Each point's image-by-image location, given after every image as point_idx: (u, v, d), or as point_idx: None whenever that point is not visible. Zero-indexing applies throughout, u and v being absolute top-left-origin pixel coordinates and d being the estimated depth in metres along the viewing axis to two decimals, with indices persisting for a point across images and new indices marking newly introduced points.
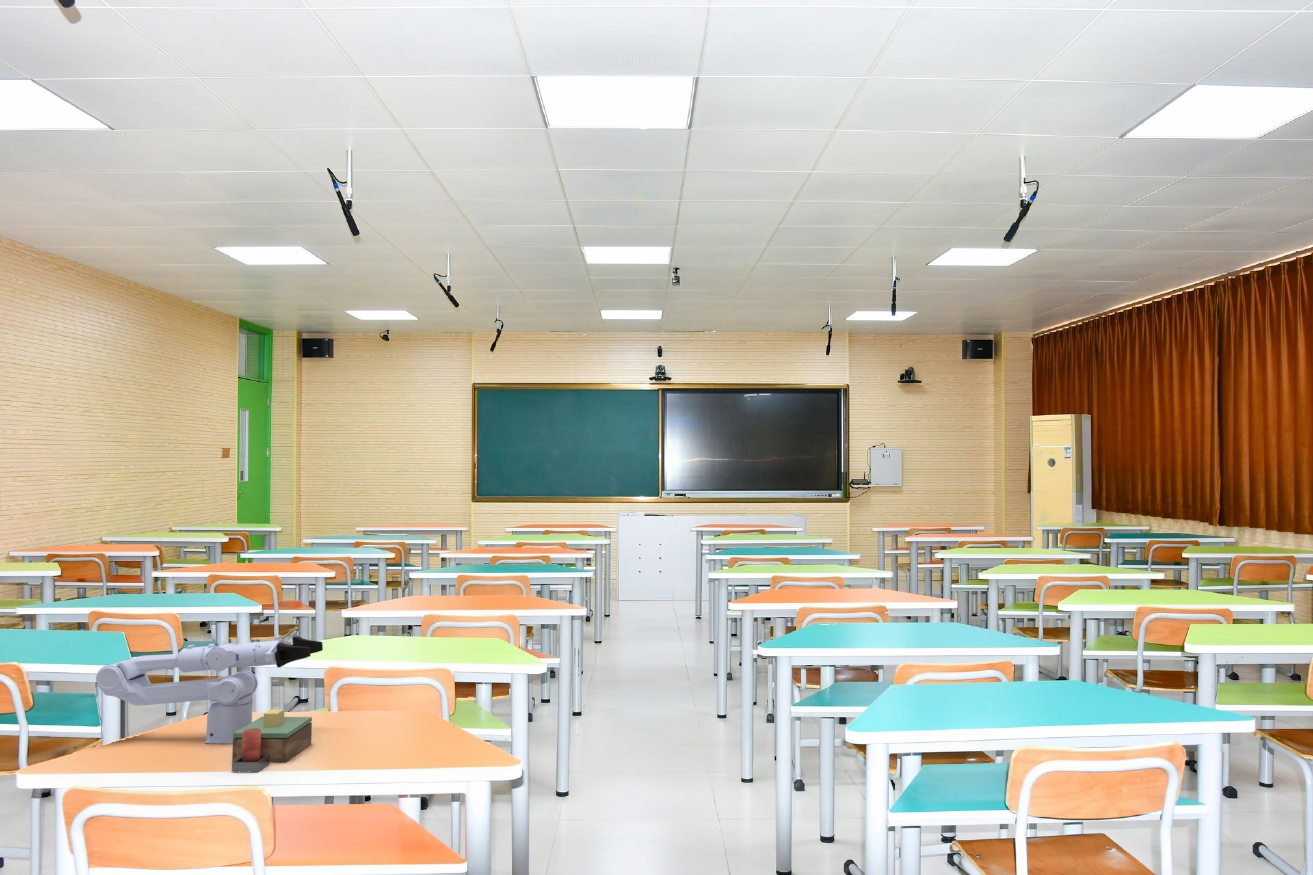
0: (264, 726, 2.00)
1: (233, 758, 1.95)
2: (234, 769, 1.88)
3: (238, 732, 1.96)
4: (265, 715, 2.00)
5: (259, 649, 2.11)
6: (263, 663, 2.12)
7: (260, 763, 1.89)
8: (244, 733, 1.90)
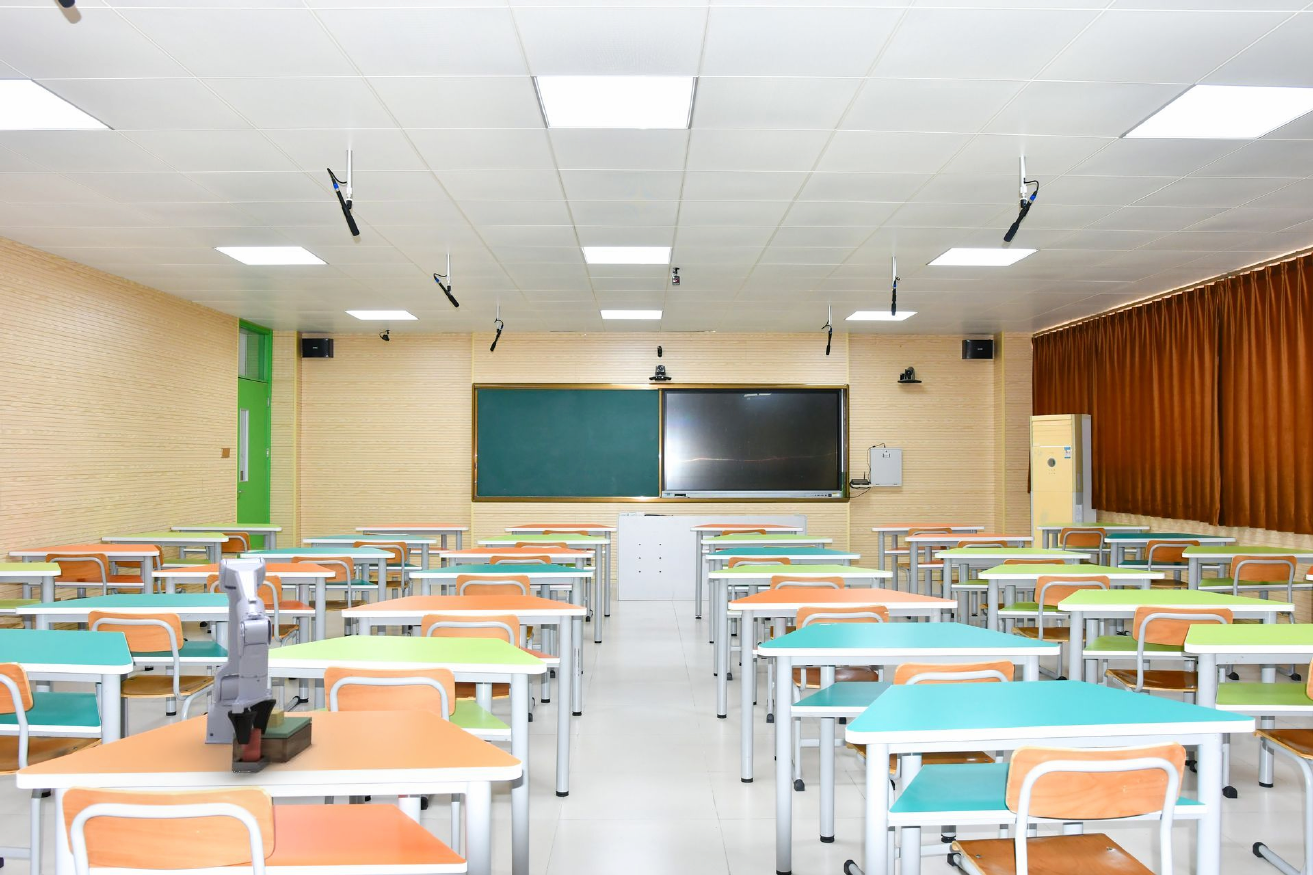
0: None
1: (233, 758, 1.95)
2: (234, 769, 1.88)
3: None
4: None
5: (254, 682, 1.89)
6: (239, 684, 1.90)
7: (260, 763, 1.89)
8: None
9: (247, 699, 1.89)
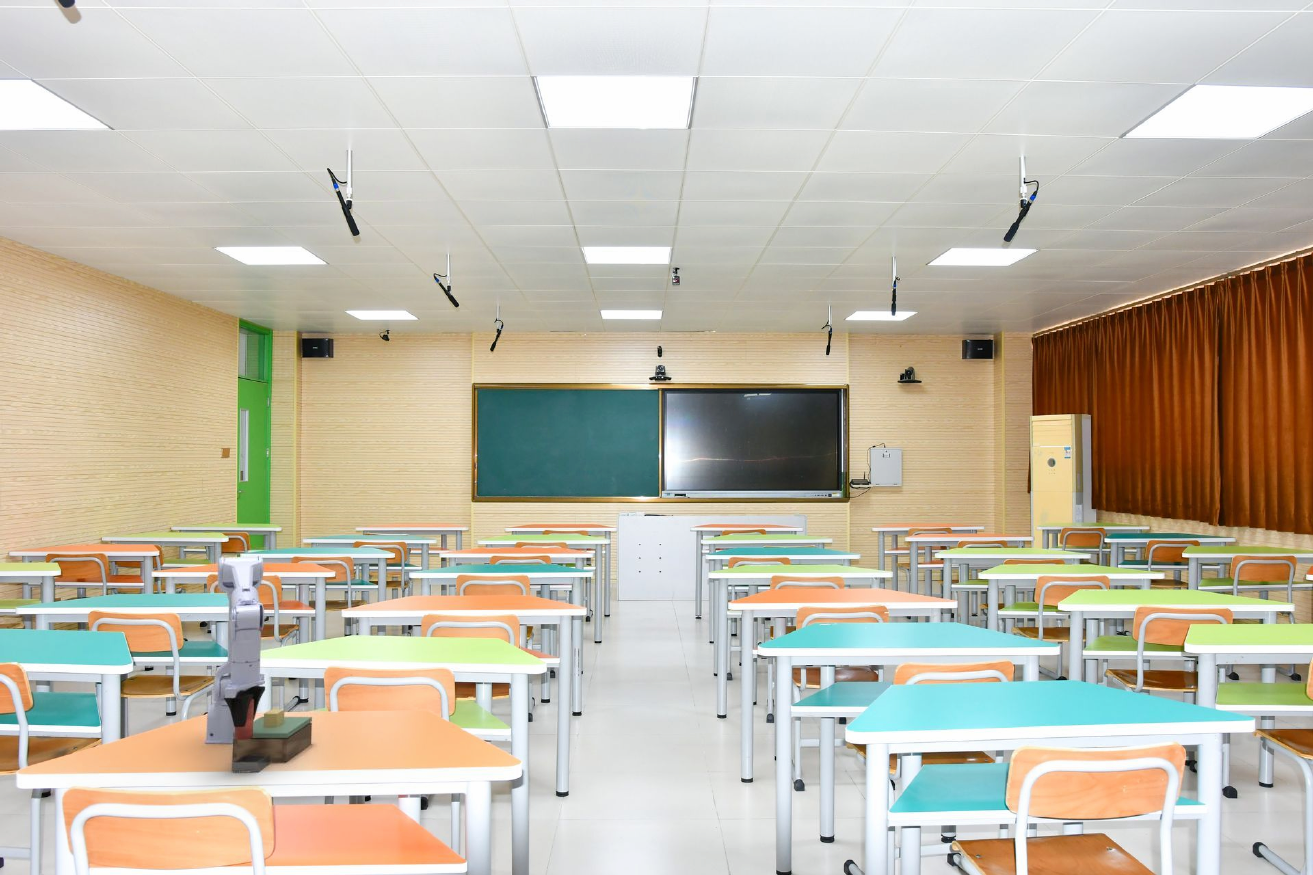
0: (264, 726, 2.00)
1: (233, 758, 1.95)
2: (234, 769, 1.88)
3: None
4: (265, 715, 2.00)
5: (246, 667, 1.90)
6: (231, 669, 1.90)
7: (260, 763, 1.89)
8: None
9: (239, 684, 1.89)
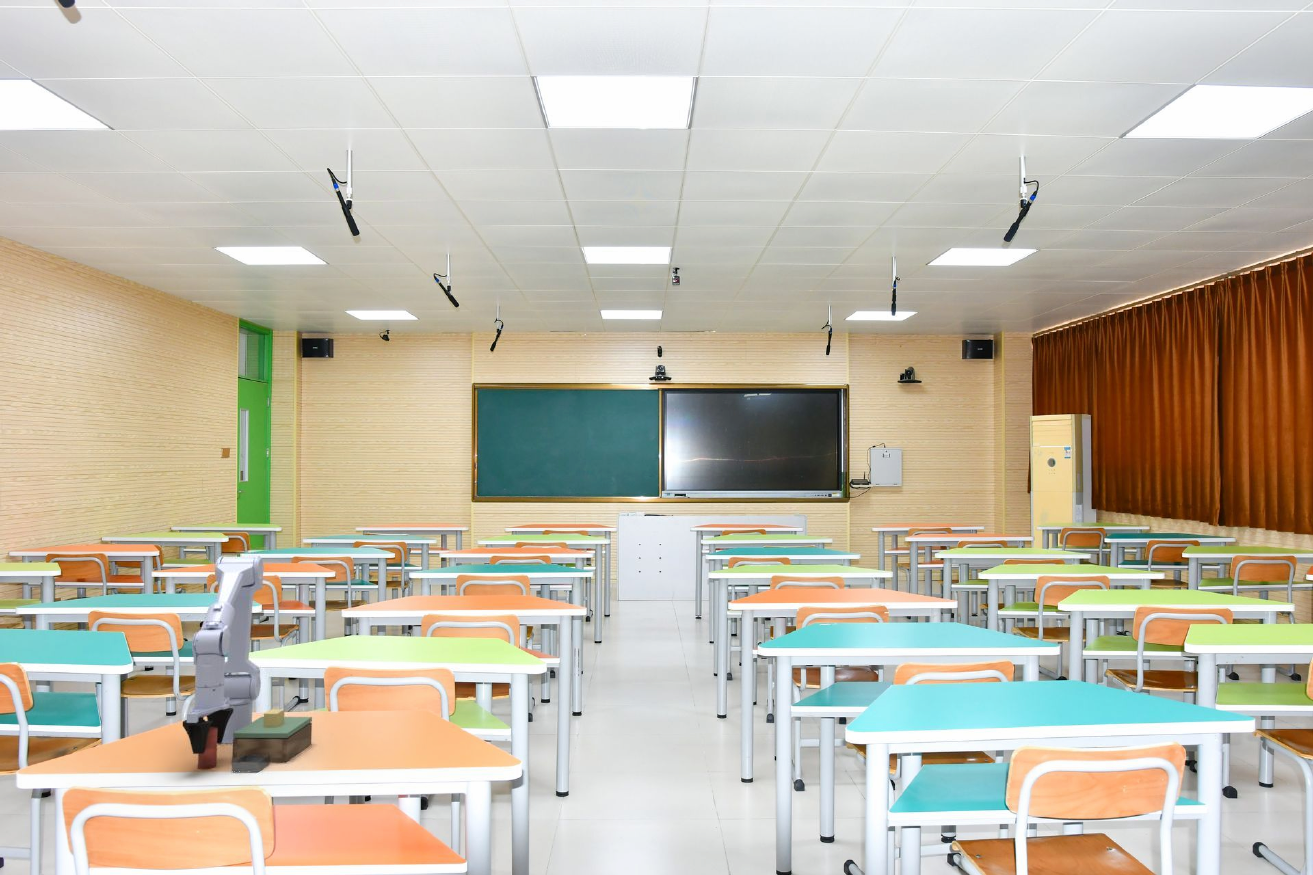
0: (264, 726, 2.00)
1: (233, 758, 1.95)
2: (234, 769, 1.88)
3: (238, 732, 1.96)
4: (265, 715, 2.00)
5: (210, 692, 1.90)
6: (195, 693, 1.91)
7: (260, 763, 1.89)
8: None
9: (202, 709, 1.89)
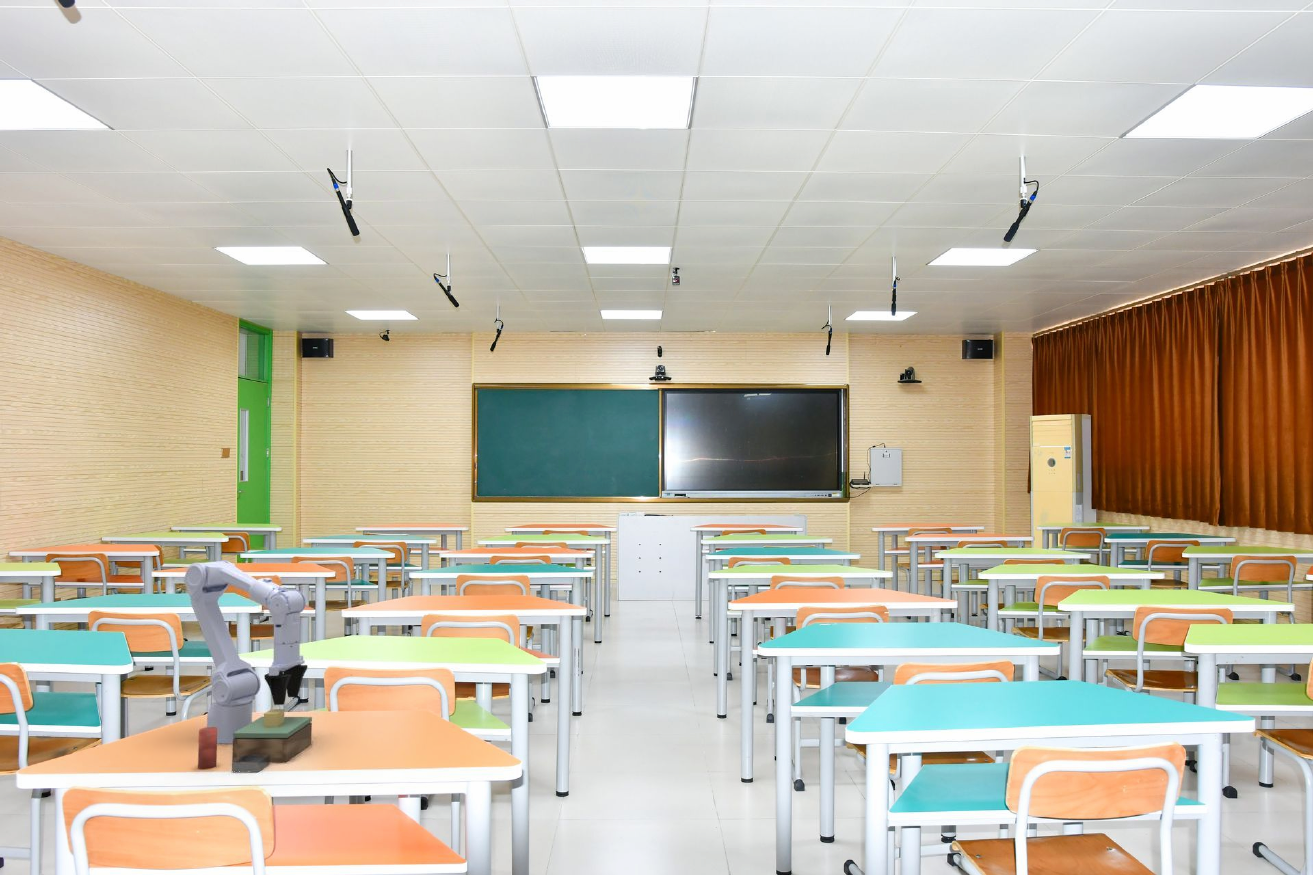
0: (264, 726, 2.00)
1: (233, 758, 1.95)
2: (234, 769, 1.88)
3: (238, 732, 1.96)
4: (265, 715, 2.00)
5: (288, 648, 2.06)
6: (274, 650, 2.07)
7: (260, 763, 1.89)
8: (200, 732, 1.91)
9: (281, 663, 2.05)
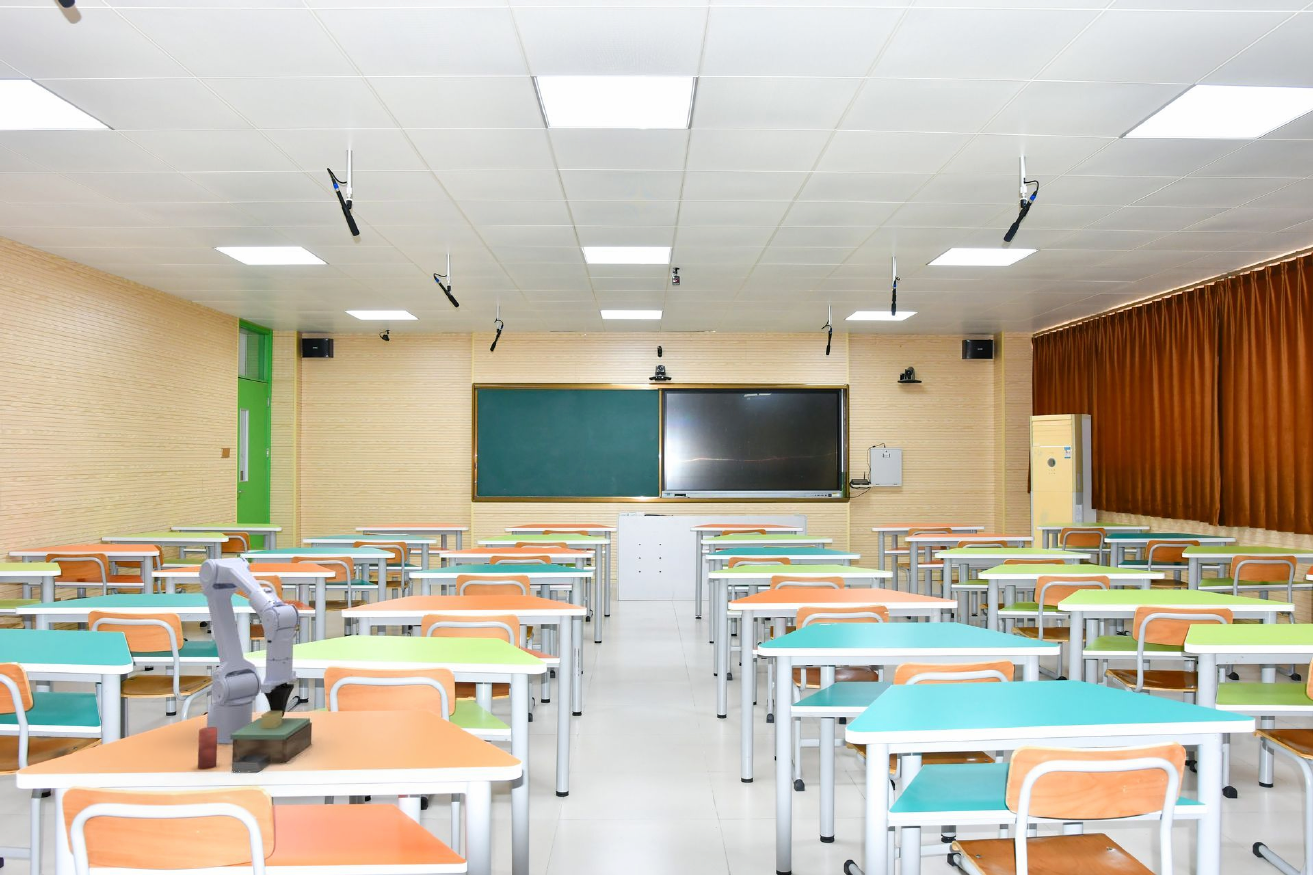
0: (262, 727, 1.99)
1: (233, 758, 1.95)
2: (234, 769, 1.88)
3: (235, 733, 1.94)
4: (263, 716, 1.99)
5: (280, 664, 2.02)
6: (266, 666, 2.03)
7: (260, 763, 1.89)
8: (200, 732, 1.91)
9: (274, 680, 2.02)
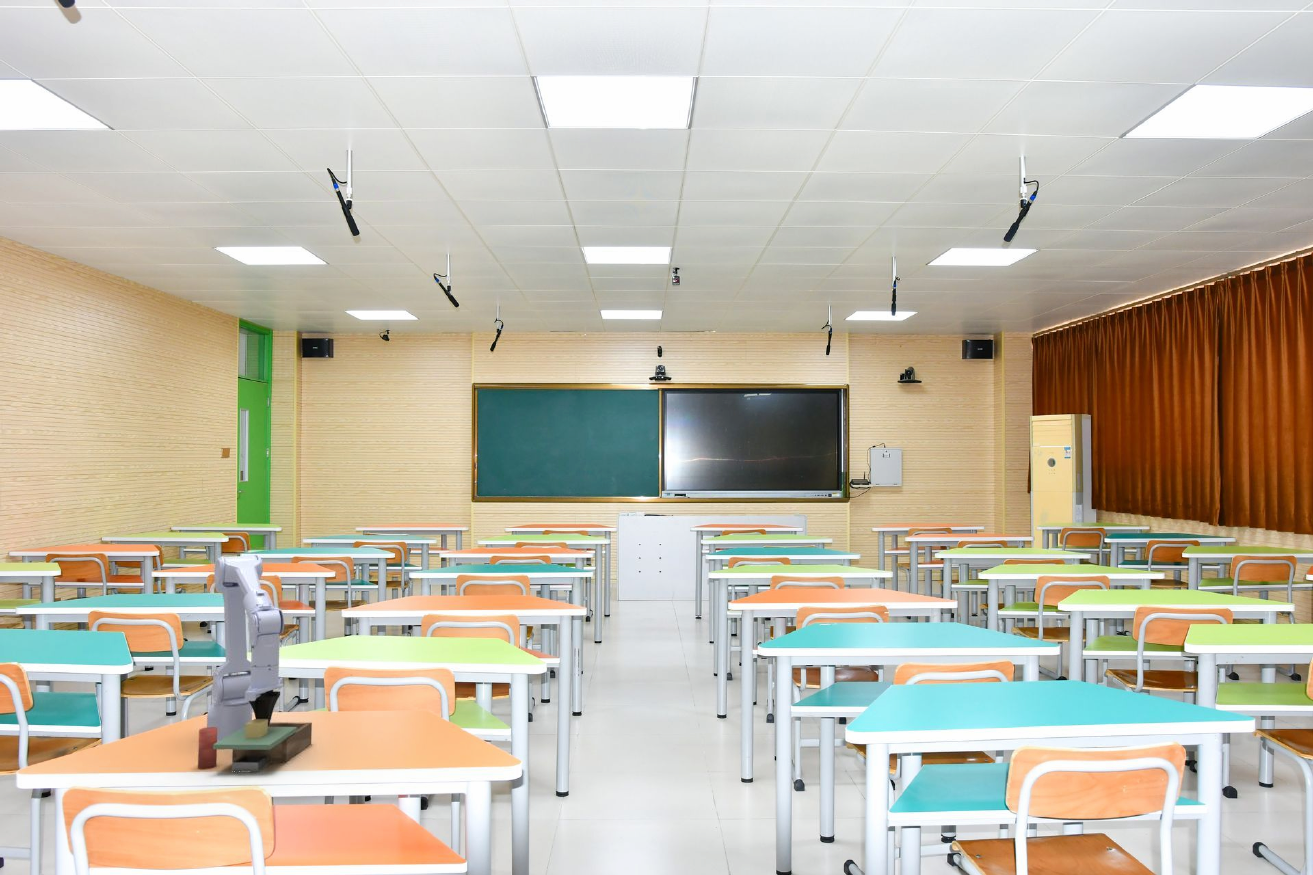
0: (246, 737, 1.91)
1: (233, 758, 1.95)
2: (234, 769, 1.88)
3: (219, 743, 1.87)
4: (248, 725, 1.92)
5: (266, 671, 1.95)
6: (251, 673, 1.95)
7: (260, 763, 1.89)
8: (200, 732, 1.91)
9: (259, 687, 1.94)
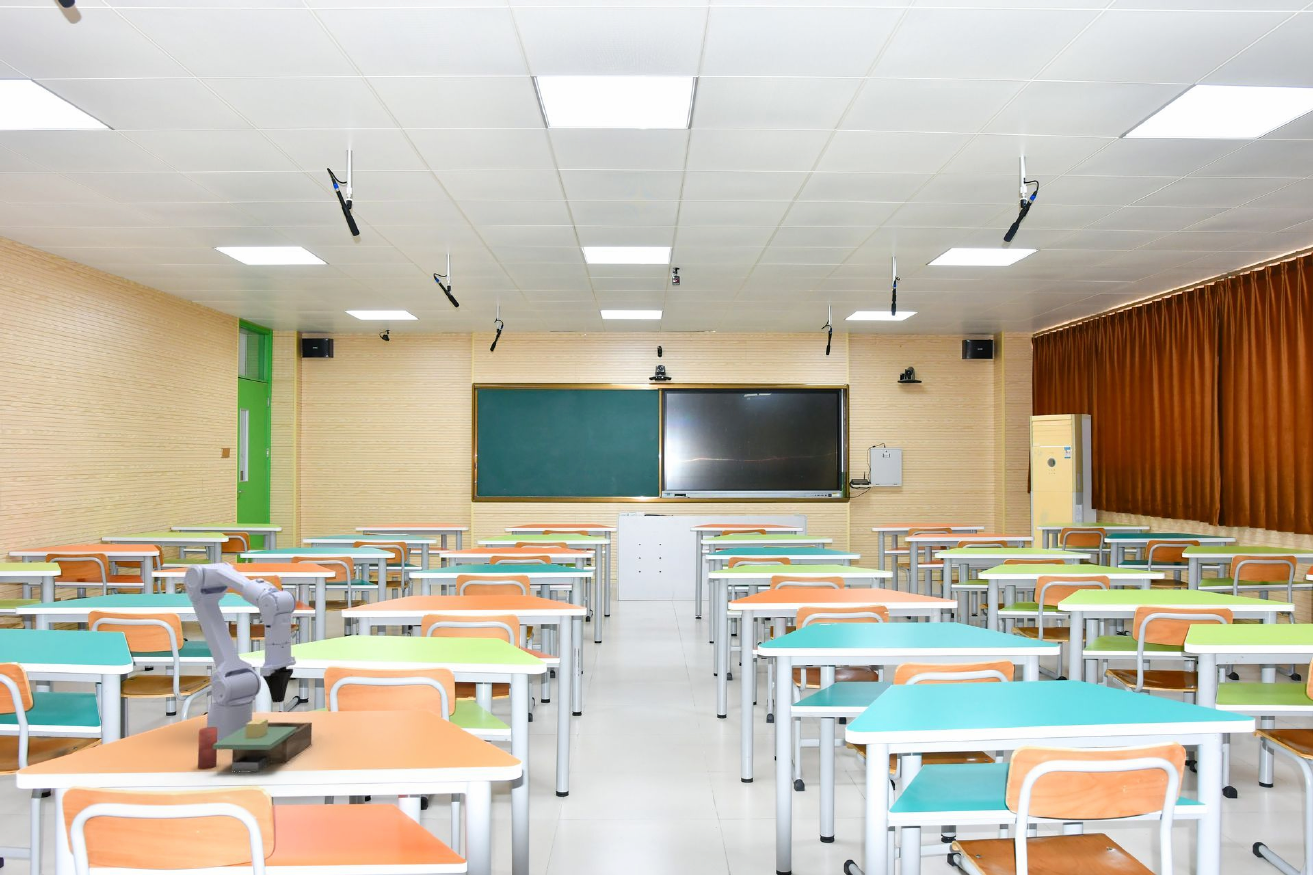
0: (246, 737, 1.91)
1: (233, 758, 1.95)
2: (234, 769, 1.88)
3: (218, 743, 1.87)
4: (248, 725, 1.92)
5: (279, 648, 2.05)
6: (265, 651, 2.06)
7: (260, 763, 1.89)
8: (200, 732, 1.91)
9: (273, 664, 2.04)
